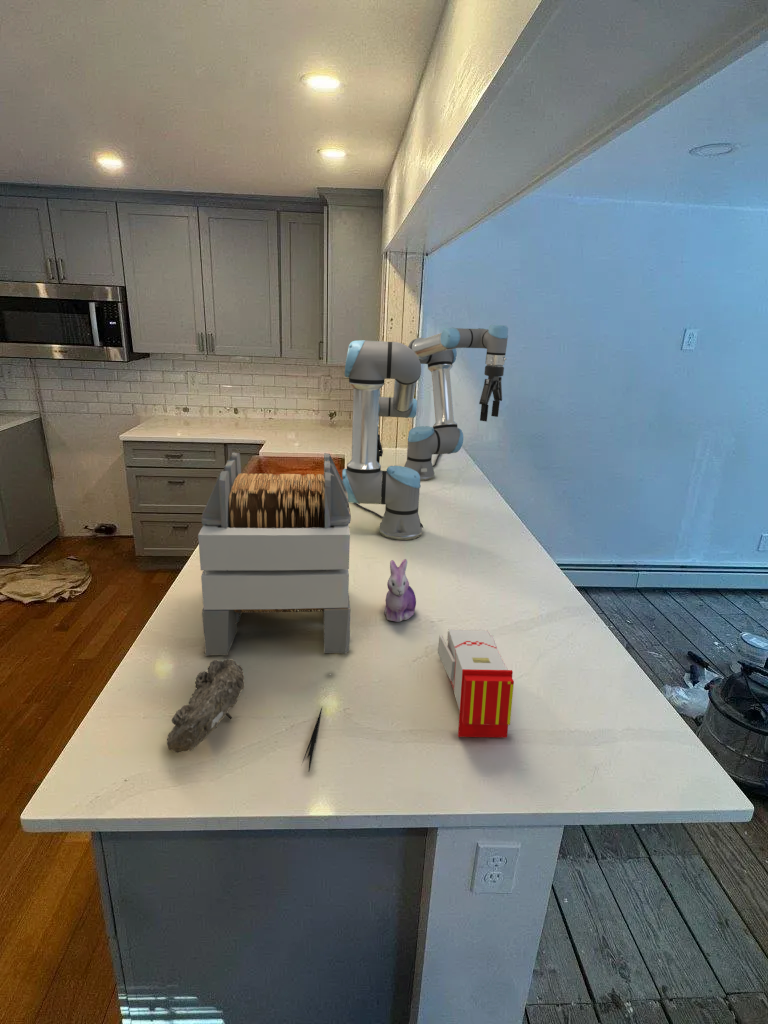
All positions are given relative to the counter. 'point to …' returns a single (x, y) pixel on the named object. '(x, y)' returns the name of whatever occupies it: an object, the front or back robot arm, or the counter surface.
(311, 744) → the feather
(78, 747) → the counter surface
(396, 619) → the figurine
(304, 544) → the cotton gin model
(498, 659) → the toy
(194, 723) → the fossil
